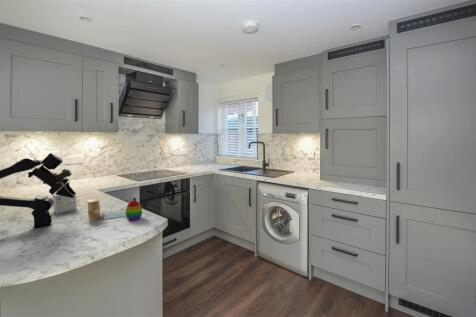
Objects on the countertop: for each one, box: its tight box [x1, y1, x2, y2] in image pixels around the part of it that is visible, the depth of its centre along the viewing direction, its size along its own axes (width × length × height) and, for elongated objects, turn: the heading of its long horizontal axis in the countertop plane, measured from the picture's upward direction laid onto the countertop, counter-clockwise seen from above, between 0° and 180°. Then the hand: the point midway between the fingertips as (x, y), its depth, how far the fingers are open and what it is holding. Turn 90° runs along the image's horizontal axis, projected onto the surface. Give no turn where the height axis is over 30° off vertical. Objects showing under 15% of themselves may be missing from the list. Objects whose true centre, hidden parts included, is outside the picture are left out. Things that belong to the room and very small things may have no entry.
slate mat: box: [99, 210, 127, 221], centre depth 139 cm, size 12×10×2 cm
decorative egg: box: [125, 200, 143, 221], centre depth 133 cm, size 8×8×10 cm
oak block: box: [87, 198, 101, 221], centre depth 135 cm, size 5×6×10 cm
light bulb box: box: [51, 193, 78, 214], centre depth 151 cm, size 11×7×11 cm, turn 141°
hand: (74, 195), depth 131 cm, fingers open, 7 cm apart
